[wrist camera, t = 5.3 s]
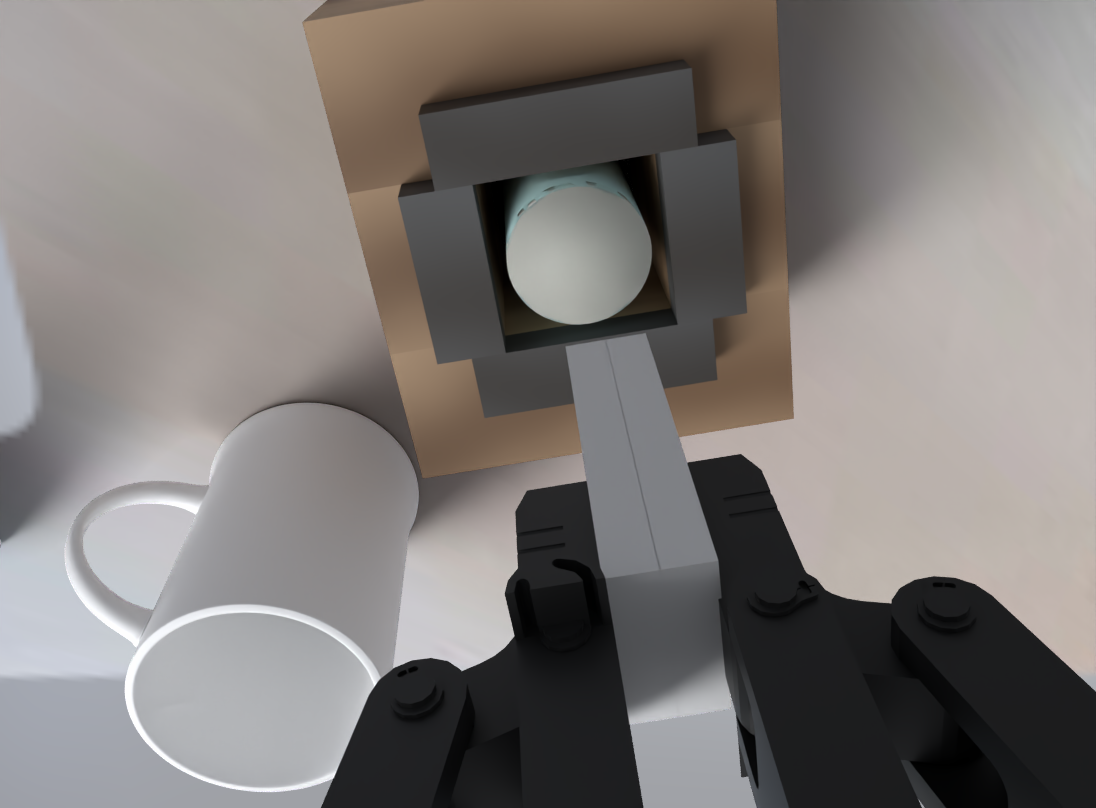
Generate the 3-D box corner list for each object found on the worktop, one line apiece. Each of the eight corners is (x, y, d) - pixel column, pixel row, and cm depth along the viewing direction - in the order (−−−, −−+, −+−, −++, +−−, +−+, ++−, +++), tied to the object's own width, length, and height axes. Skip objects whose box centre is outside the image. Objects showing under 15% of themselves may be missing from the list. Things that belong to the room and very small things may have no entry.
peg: (493, 123, 34) (494, 200, 26) (608, 103, 34) (643, 174, 26) (513, 233, 36) (520, 335, 28) (622, 215, 36) (658, 312, 28)
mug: (102, 485, 41) (-32, 704, 30) (186, 324, 37) (68, 506, 27) (359, 599, 44) (319, 829, 34) (456, 460, 41) (445, 668, 30)
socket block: (343, -14, 32) (294, 29, 24) (710, -79, 32) (786, -58, 24) (434, 366, 39) (420, 499, 31) (738, 316, 38) (804, 437, 30)
